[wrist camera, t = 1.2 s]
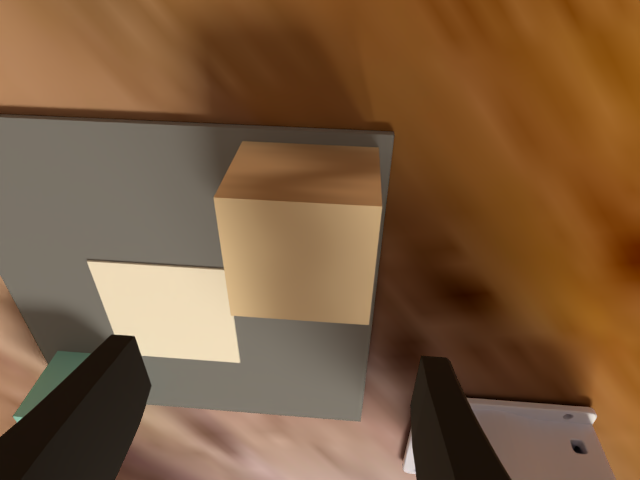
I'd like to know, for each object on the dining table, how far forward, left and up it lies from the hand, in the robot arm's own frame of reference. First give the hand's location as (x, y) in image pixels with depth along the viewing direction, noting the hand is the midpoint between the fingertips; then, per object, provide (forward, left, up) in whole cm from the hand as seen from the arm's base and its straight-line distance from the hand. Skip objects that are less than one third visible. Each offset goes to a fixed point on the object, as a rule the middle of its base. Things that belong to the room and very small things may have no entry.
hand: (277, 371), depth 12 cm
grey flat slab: (+6, +6, -8) cm, 12 cm away
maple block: (0, 0, -8) cm, 8 cm away
